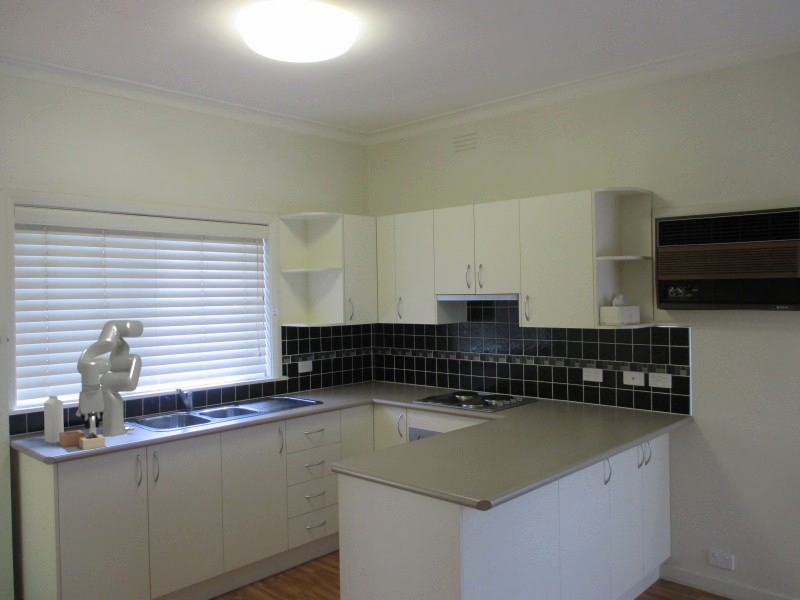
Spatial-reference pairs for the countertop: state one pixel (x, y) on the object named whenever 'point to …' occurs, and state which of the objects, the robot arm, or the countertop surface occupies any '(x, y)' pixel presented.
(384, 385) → the countertop surface
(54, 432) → the milk
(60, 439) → the board
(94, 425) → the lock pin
